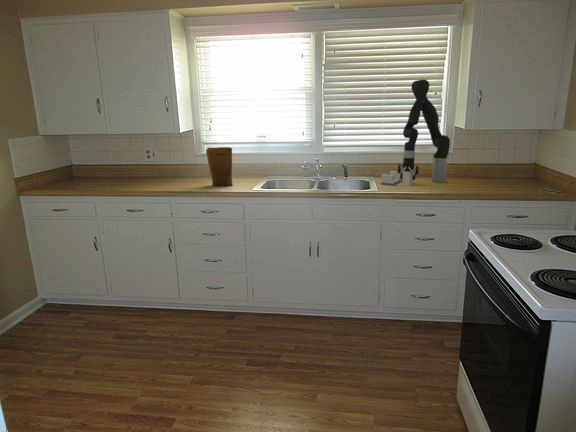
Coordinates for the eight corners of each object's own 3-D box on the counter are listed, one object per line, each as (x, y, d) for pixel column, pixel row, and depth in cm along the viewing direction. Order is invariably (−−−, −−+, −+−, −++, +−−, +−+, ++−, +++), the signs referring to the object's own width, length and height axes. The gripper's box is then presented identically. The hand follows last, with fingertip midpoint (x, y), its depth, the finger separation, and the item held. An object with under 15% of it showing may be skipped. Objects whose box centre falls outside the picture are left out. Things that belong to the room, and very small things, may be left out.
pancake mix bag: (232, 187, 306) (230, 147, 298) (207, 186, 311) (205, 147, 303) (235, 185, 312) (233, 146, 305) (211, 184, 317) (209, 146, 310)
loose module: (413, 183, 307) (414, 170, 305) (409, 185, 300) (409, 172, 298) (406, 182, 310) (407, 169, 307) (402, 184, 303) (402, 171, 300)
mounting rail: (402, 181, 316) (403, 171, 314) (392, 185, 300) (393, 175, 298) (390, 180, 321) (391, 170, 319) (380, 184, 305) (380, 174, 303)
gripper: (420, 157, 299) (419, 179, 303) (401, 155, 307) (399, 178, 311) (417, 158, 293) (415, 181, 297) (397, 156, 301) (396, 179, 305)
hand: (407, 179), depth 304 cm, fingers open, 8 cm apart
